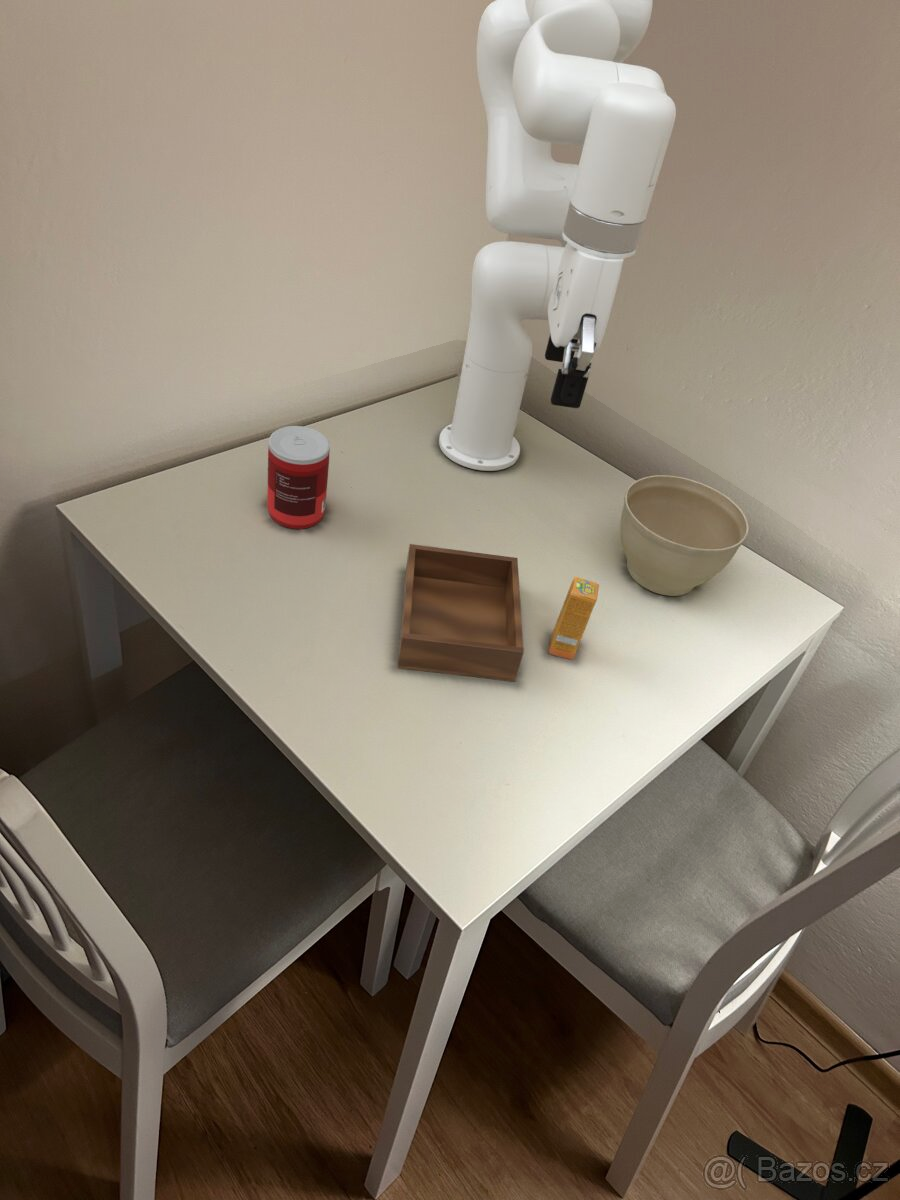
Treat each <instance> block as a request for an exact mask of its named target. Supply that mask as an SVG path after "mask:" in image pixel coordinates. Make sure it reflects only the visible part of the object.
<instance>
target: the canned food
mask: <svg viewBox="0 0 900 1200" xmlns="http://www.w3.org/2000/svg"><path fill="white" fill-rule="evenodd" d="M267 447H268V448H267V449H268V450H267V491H266V492H267V494H266V495H267V497H266V499H267V500H266V501H267V502H266V503H267V504H266V506H267V510H268V514H269V516H270V518H271V519H272V520H273V521H274V522H275V523H277V524H279V525H280V526H283V527H286V528H288V529H293V530H294V529H295V530H302V529H309V528H311V527H314V526H316V525H318V524H319V523H320V522H321V521H322V519H323V517H324V515H325V512H326V504H327V494H328V493H327V491H328V480H329V479H328V478H329V468H330V467H329V465H330V451H331V450H330V449H331V448H330V447H331V446H330V441H329V439H328V438H327V436H326V435H325V434H324V433H322V432H320V431H318V430H316V429H314V428H311V427H308V426H304V425H303V426H302V425H290V426H283V427H280V428H278V429H276V430H275V431H273V432H272V433H271V434H270V436H269V439H268V445H267Z"/></svg>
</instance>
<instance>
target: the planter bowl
mask: <svg viewBox="0 0 900 1200" xmlns="http://www.w3.org/2000/svg"><path fill="white" fill-rule="evenodd" d="M619 528H620V529H619V530H620V532H619V534H620V542H621V545H622V550H623V553H624V556H625V558H626V560H627V561H626V567H627V570H628V573H629V575H630V576H631V578H632V579H633V580H634V581H635V582H636V583H637V584H638V585H640V586H641V587H643V588H645V589H646V590H648V591H650V592H653V593H655V594H658V595H663V596H669V597H678V596H684V595H686V594H689V593H691V592H692V591H693V590H694V589H695V587H697V586H700V585H703V584H704V583H706V582H708V581H709V580H711V579H713V577H716V576H717V575H718V574H719V573H720V572H721V571H723V570H724V569H725V567H726V566H727V565H728V564H729V563H730V562H731V561H732V559H733V558H734V557H735V556H736V553H737V551H738V550H739V548H740V547H741V546H742V544H744V542H745V541H746V538H747V537H748V535H749V530H750V529H749V521H748V518H747V516H746V515H745V513H744V512H743V510H742V509H741V508H740V506H738V504H736V502H734V501H733V499H731V498H730V497H729V496H728V495H725V494H724V493H723V492H721V491H719V490H717V489H716V488H714V487H711V486H709V485H707V484H705V483H702V482H700V481H697V480H694V479H690V478H687V477H683V476H677V475H669V474H667V475H666V474H665V475H664V474H655V475H650V476H645V477H642V478H639V479H636V480H635V481H633V483H632V484H630V485H629V486H628V488H627V489H626V492H625V494H624V499H623V507H622V511H621V516H620V527H619Z"/></svg>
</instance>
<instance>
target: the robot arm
mask: <svg viewBox="0 0 900 1200" xmlns="http://www.w3.org/2000/svg"><path fill="white" fill-rule="evenodd" d="M653 1H654V0H493V1H492V2H491V3H489V4H488V5H487V6H486V8H485V9H484V11H483V13H482V15H481V17H480V20H479V24H478V29H477V38H476V53H475V54H476V56H475V57H476V72H477V80H478V86H479V91H480V95H481V100H482V103H483V107H484V111H485V117H486V122H487V148H486V169H485V173H486V174H485V213H486V219H487V221H488V223H489V225H490V226H491V228H493V229H494V231H497V232H499V233H502V234H507V235H513V236H520V237H521V236H522V237H528V238H537V239H546V240H555V241H557V242H560V244H561V246H558V245H557V246H556V245H547V244H542V243H533V242H523V241H513V240H511V241H509V240H503V241H495V242H491V243H489V244H485V246H483V247H481V249H479V251H478V252H477V253H476V256H475V258H474V259H473V260H474V261H473V265H472V271H471V298H470V300H471V301H470V316H469V325H468V331H467V338H466V343H465V349H464V355H463V360H462V366H461V372H460V378H459V383H458V389H457V395H456V400H455V404H454V411H453V417H452V423H450V424H448V425H447V426H445V427H444V428H443V429H442V430H441V431H440V433H439V437H438V445H439V448H440V450H441V451H442V453H443V454H444V455H445V456H446V457H447V458H448V459H449V460H451V461H452V462H454V463H455V464H458V465H460V466H462V467H464V468H468V469H471V470H476V471H483V472H496V471H501V470H504V469H507V468H510V467H511V466H513V465H514V464H516V463H517V461H518V460H519V457H520V454H521V445H520V443H519V441H518V439H517V438H516V437H515V436H514V435H515V431H516V426H517V422H518V418H519V414H520V410H521V404H522V401H523V397H524V393H525V389H526V384H527V379H528V375H529V370H530V366H531V362H532V361H531V360H532V357H533V351H534V350H533V349H534V348H533V342H532V339H531V337H530V334H529V332H528V330H527V328H526V327H525V325H524V324H523V322H522V321H524V320H540V321H541V320H542V321H548V327H549V336H548V337H549V338H548V340H547V345H546V348H545V354H544V358H545V360H547V361H551V362H556V363H557V362H558V363H562V365H561V368H558V370H557V373H556V377H555V380H554V381H555V382H554V384H553V388H552V392H551V396H550V404H551V405H553V406H557V407H558V406H559V407H565V408H572V409H578V408H580V407H581V405H582V401H583V399H584V398H583V397H584V394H585V392H586V387H587V385H588V380H589V377H590V373H591V368H592V360H593V358H594V354H595V352H597V351H599V349H600V348H601V345H602V342H603V339H604V336H605V333H606V330H607V327H608V324H609V319H610V316H611V313H612V309H613V307H614V306H613V305H614V302H615V297H616V293H617V289H618V285H619V282H620V280H621V273H622V270H623V264H624V261H625V259H628V258H632V257H633V256H634V255H635V254H636V252H637V249H638V246H639V242H640V239H641V235H642V232H643V229H644V227H645V223H646V219H647V215H648V212H649V209H650V206H651V202H652V199H653V195H654V192H655V189H656V185H657V183H658V179H659V176H660V172H661V169H662V166H663V162H664V159H665V156H666V153H667V150H668V146H669V143H670V139H671V136H672V133H673V130H674V126H675V121H676V117H677V107H676V104H675V102H674V100H673V99H672V97H670V96H669V95H668V94H667V91H666V88H665V84H664V80H663V79H662V77H661V76H660V75H659V73H658V72H656V71H655V70H653V69H651V68H648V67H645V66H642V65H636V64H629V63H624V62H625V61H626V60H627V59H628V58H629V57H630V55H631V54H633V52H634V51H635V50H636V49H637V47H638V46H639V45H640V43H641V42H642V40H643V38H644V37H645V34H646V32H647V30H648V27H649V24H650V21H651V17H652V11H653V5H654V4H653ZM552 144H557V145H558V144H559V145H568V146H574V147H582V150H581V153H580V154H581V155H580V158H579V163H578V164H575V163H568V162H558V161H556V160H554V159H553V156H552ZM575 353H577V355H576V356H575Z"/></svg>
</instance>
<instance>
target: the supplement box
mask: <svg viewBox="0 0 900 1200" xmlns="http://www.w3.org/2000/svg"><path fill="white" fill-rule="evenodd" d="M599 588H600V583H597V582H596V581H595V582H594V581H592V580H588V579H585V578H581V577H577V576H573V579H572V581H571V584H570V586H569V588H568V591H567V593H566V596H565V599H564V602H563V604H562V607H561V609H560V611H559V614H558V617H557V619H556V623H555V625H554V628H553V630H552V633H551V636H550V641H549V646H548V654H549V655H552V656H556V657H560V658H562V659H566V660H572V661H573V660H574V659H575V656H576V653H577V651H578V648H579V645H580V644H581V641H582V638H583V635H584V633H585V630H586V628H587V625H588V623H589V621H590V618H591V615H592V612H593V610H594V608H595V605H596V602H597V601H598V596H599V595H598V594H599Z"/></svg>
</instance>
